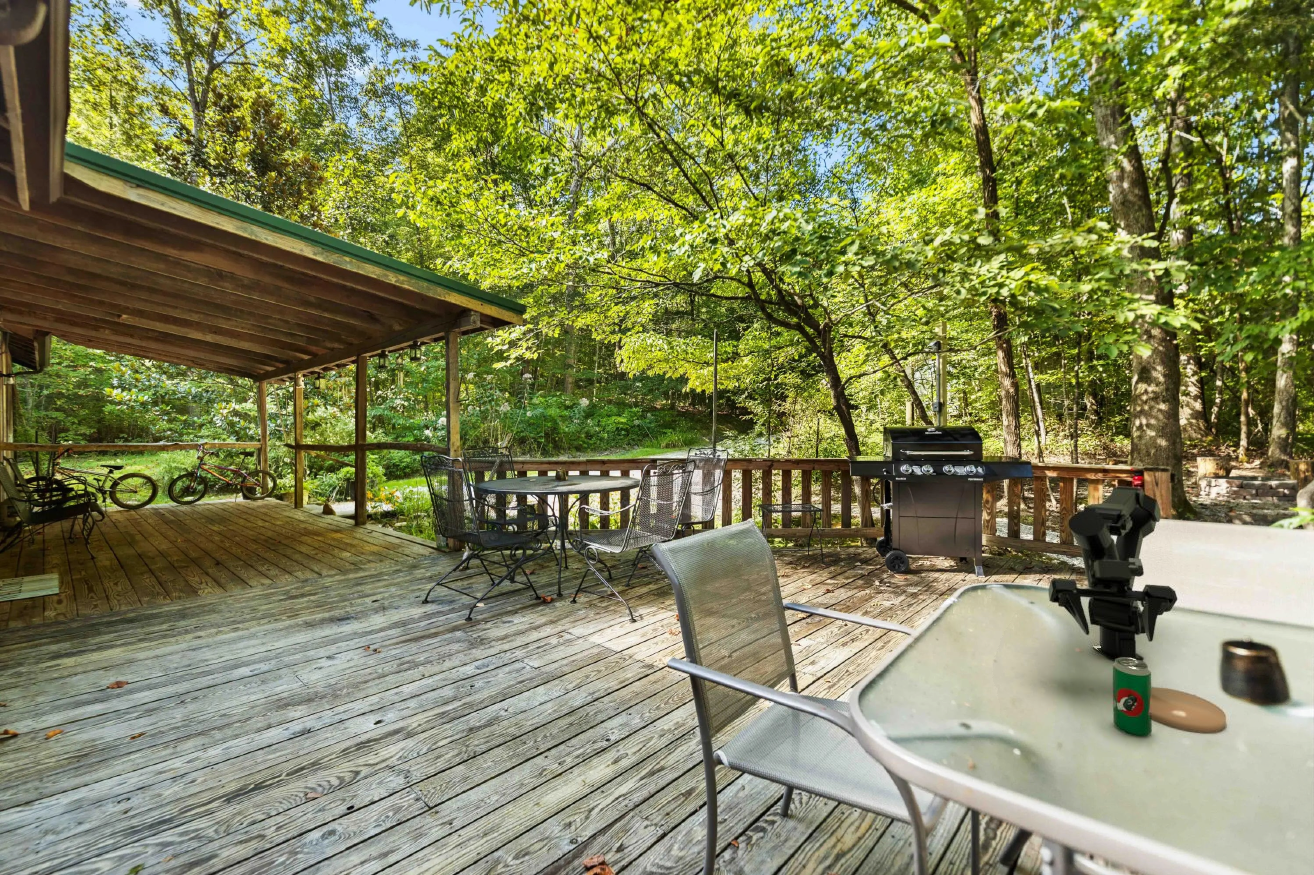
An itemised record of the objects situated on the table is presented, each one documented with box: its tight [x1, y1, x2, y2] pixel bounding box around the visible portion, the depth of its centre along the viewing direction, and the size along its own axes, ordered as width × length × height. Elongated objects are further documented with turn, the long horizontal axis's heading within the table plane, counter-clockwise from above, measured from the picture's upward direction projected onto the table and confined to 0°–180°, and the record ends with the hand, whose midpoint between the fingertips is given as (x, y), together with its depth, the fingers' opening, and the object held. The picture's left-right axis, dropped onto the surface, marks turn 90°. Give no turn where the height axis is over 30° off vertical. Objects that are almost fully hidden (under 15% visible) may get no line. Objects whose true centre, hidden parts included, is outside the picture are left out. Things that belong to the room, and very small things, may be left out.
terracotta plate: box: [1151, 686, 1227, 734], centre depth 99 cm, size 12×12×2 cm
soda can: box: [1112, 657, 1153, 738], centre depth 95 cm, size 5×5×12 cm
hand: (1118, 637), depth 101 cm, fingers open, 9 cm apart
